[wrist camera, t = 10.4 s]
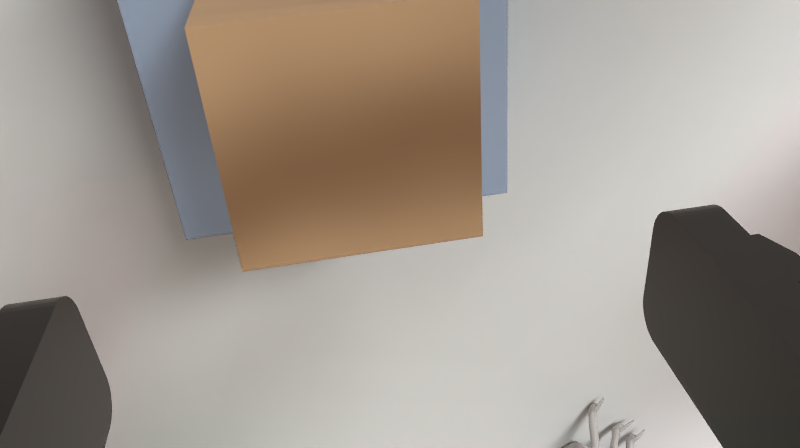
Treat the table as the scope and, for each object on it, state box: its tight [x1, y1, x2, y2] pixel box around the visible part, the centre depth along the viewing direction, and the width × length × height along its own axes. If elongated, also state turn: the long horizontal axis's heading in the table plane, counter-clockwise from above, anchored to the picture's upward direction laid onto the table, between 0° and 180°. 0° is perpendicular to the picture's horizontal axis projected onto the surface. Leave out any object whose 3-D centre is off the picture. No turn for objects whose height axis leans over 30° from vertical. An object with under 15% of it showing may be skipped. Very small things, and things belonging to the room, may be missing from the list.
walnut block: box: [184, 0, 483, 271], centre depth 17 cm, size 6×6×6 cm
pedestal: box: [117, 0, 507, 240], centre depth 21 cm, size 11×11×5 cm
